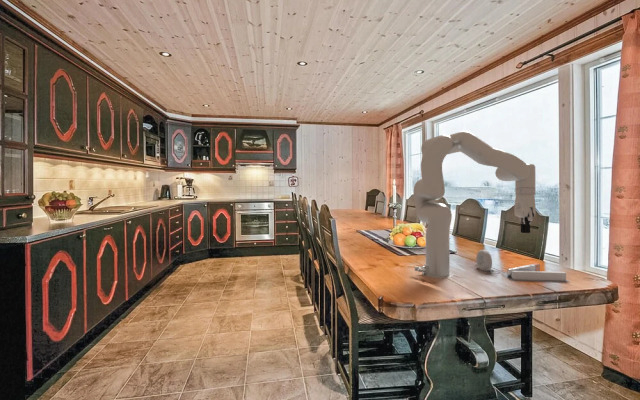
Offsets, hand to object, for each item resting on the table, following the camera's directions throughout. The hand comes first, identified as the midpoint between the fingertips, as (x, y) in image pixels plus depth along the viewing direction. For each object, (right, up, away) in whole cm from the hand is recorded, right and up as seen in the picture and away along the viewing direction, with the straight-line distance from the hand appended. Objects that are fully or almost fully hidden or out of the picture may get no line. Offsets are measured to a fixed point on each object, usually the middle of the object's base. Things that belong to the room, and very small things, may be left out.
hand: (525, 232), depth 141 cm
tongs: (-5, -18, -13) cm, 23 cm away
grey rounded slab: (-18, -18, +1) cm, 26 cm away
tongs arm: (-6, -16, -8) cm, 20 cm away
